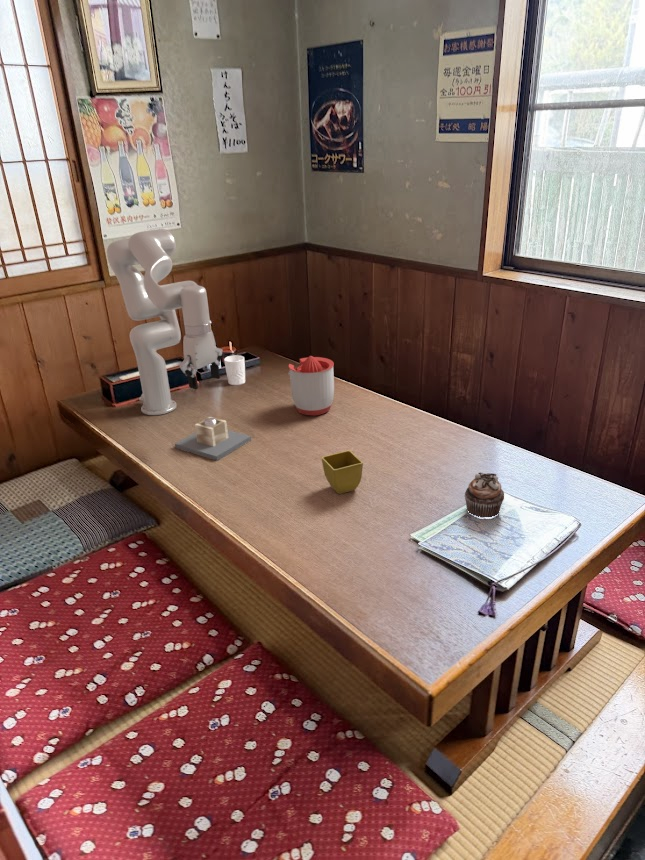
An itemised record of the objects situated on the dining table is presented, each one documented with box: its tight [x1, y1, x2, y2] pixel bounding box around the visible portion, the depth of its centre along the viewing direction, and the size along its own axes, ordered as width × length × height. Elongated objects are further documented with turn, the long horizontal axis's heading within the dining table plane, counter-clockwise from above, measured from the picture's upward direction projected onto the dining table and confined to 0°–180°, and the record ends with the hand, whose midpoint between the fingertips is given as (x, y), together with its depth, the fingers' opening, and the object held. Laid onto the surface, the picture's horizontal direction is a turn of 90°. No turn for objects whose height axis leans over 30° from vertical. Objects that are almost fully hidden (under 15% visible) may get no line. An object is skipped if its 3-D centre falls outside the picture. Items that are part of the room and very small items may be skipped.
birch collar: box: [194, 416, 229, 447], centre depth 201 cm, size 7×7×6 cm
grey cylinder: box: [203, 417, 217, 427], centre depth 201 cm, size 4×4×7 cm
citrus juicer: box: [287, 355, 335, 416], centre depth 221 cm, size 16×17×20 cm
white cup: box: [223, 354, 246, 386], centre depth 250 cm, size 8×8×10 cm
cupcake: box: [464, 472, 505, 517], centre depth 159 cm, size 10×10×10 cm
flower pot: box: [321, 450, 364, 495], centre depth 172 cm, size 9×9×9 cm
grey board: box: [174, 429, 252, 462], centre depth 203 cm, size 18×16×2 cm
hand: (204, 382), depth 194 cm, fingers open, 9 cm apart
